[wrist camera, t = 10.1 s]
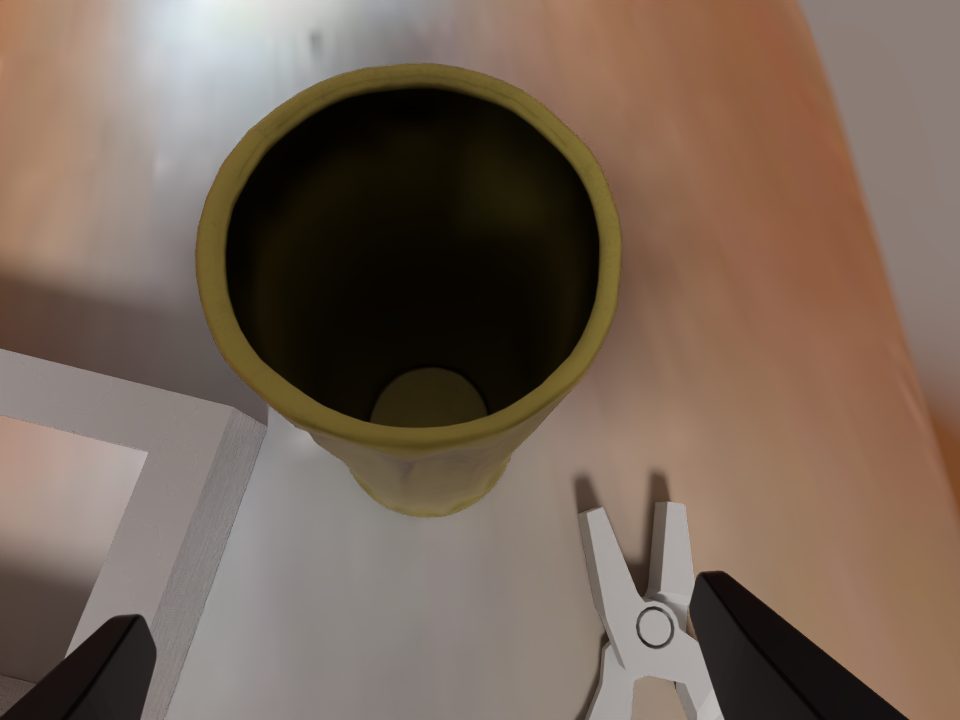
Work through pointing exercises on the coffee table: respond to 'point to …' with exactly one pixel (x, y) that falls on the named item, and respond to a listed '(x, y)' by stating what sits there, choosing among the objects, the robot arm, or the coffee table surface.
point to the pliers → (646, 617)
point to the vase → (411, 273)
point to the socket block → (146, 500)
